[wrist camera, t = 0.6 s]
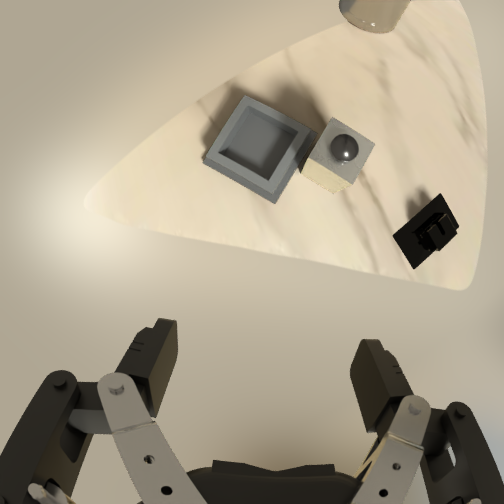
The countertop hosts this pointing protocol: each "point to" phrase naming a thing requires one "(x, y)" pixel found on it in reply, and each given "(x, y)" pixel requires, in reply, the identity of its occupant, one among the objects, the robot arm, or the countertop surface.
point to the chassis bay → (260, 148)
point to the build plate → (427, 231)
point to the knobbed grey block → (337, 157)
